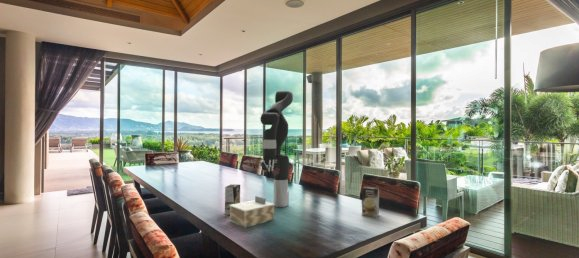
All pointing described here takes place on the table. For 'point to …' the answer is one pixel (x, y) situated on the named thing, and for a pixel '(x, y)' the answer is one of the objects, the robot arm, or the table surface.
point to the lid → (252, 204)
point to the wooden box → (251, 216)
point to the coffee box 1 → (231, 196)
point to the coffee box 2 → (370, 201)
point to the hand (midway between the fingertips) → (269, 177)
